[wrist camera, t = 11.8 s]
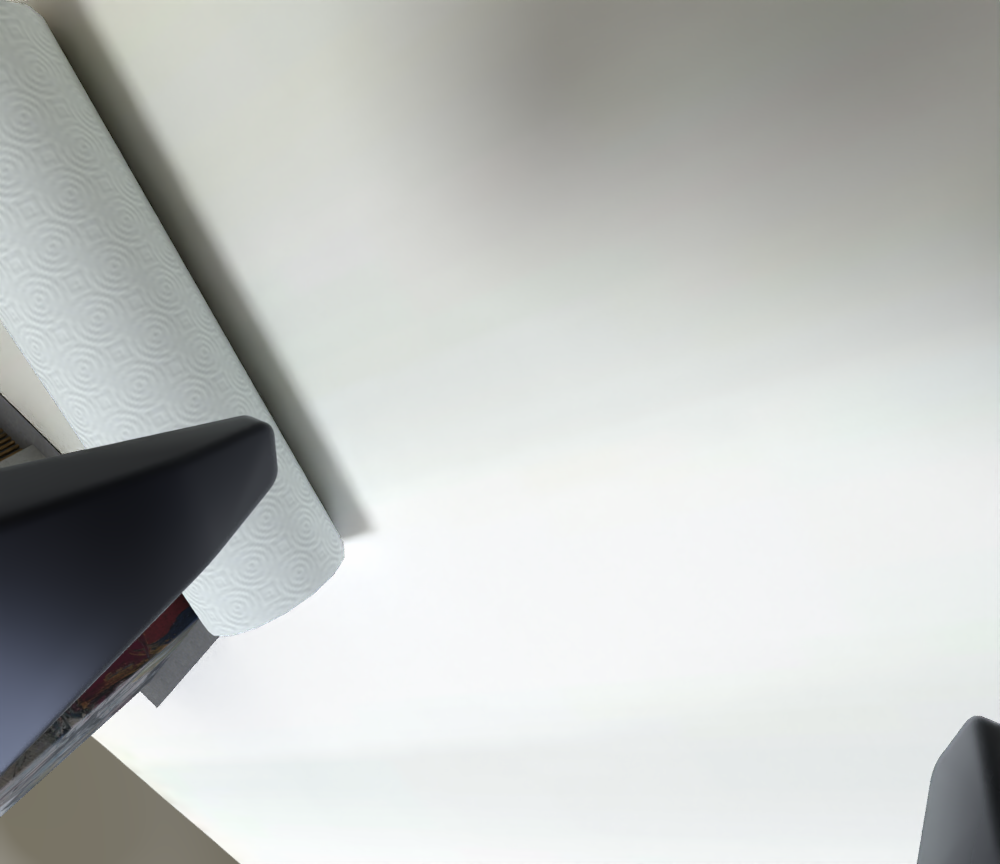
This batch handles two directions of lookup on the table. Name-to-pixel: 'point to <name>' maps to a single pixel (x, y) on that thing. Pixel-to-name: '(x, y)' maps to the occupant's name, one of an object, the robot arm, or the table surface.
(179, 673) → the row of books
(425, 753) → the table surface
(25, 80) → the paper towel roll
